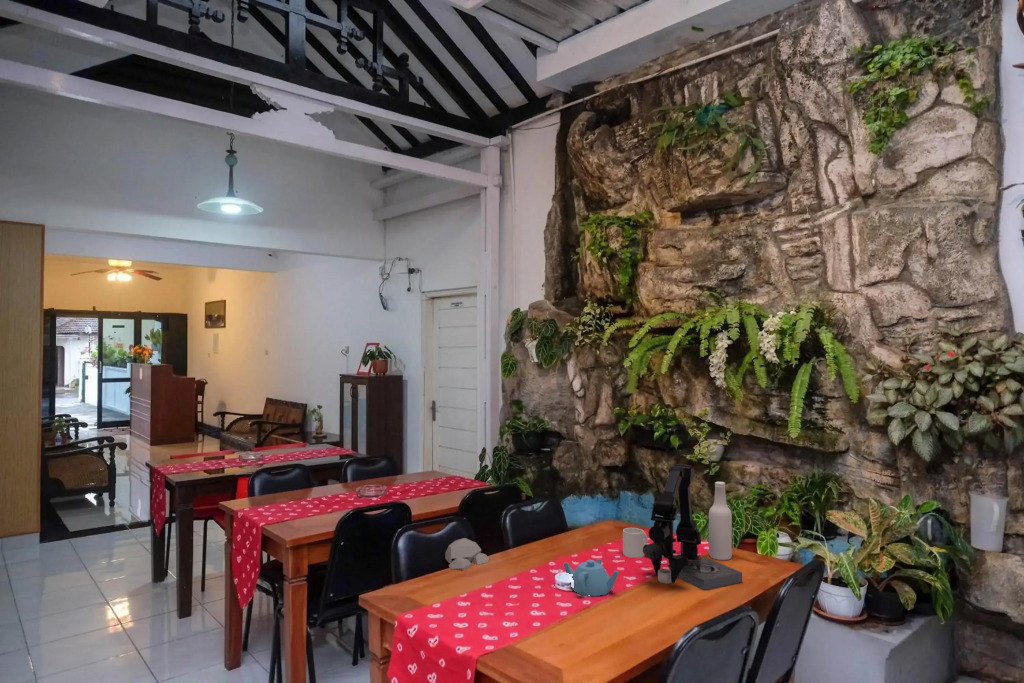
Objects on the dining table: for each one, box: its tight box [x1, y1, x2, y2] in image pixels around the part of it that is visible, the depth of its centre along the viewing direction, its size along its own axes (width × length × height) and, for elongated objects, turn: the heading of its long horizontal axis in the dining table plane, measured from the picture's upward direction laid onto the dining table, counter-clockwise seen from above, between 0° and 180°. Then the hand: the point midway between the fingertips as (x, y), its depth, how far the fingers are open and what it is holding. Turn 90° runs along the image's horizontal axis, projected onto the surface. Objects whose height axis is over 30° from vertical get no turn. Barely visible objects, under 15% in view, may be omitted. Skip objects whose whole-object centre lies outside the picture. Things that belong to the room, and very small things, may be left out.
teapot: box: [562, 558, 620, 597], centre depth 214 cm, size 15×15×11 cm
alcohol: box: [708, 481, 733, 561], centre depth 251 cm, size 9×9×30 cm
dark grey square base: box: [668, 557, 743, 591], centre depth 228 cm, size 18×18×4 cm
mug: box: [622, 527, 648, 559], centre depth 253 cm, size 12×8×10 cm
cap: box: [657, 568, 673, 585], centre depth 223 cm, size 5×5×4 cm
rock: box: [444, 537, 490, 571], centre depth 239 cm, size 18×20×10 cm
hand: (665, 579), depth 223 cm, fingers open, 8 cm apart
